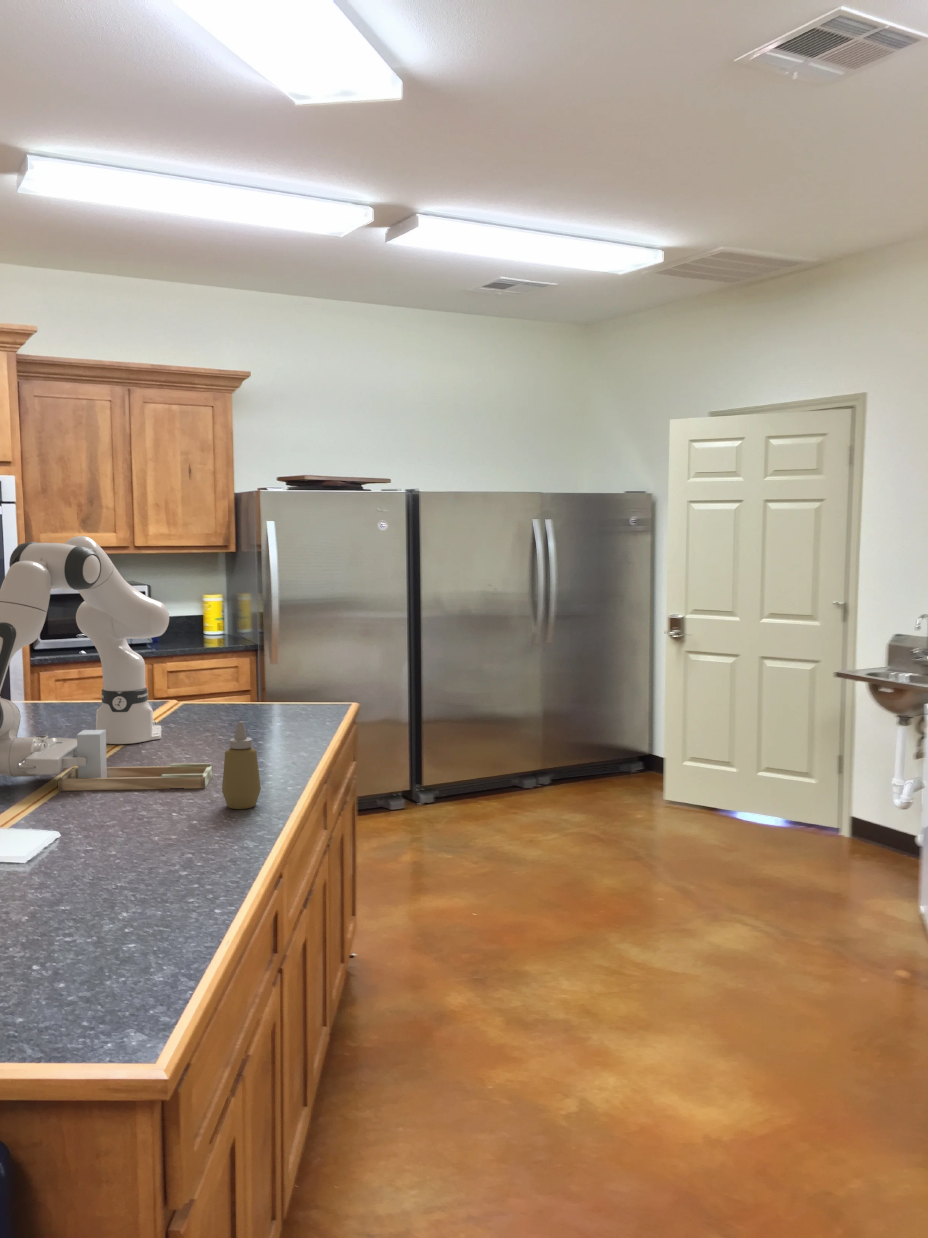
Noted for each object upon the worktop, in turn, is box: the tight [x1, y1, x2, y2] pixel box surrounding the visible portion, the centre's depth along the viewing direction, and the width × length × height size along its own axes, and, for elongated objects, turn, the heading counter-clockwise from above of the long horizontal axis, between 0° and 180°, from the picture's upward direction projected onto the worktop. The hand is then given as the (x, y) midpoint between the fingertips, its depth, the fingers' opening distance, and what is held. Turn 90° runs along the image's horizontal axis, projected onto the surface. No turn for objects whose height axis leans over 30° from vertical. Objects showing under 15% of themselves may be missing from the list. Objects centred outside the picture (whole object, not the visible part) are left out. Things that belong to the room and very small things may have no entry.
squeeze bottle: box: [221, 721, 262, 810], centre depth 209 cm, size 8×8×18 cm
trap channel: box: [57, 762, 214, 792], centre depth 228 cm, size 11×32×3 cm, turn 95°
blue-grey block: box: [76, 729, 108, 778], centre depth 226 cm, size 5×5×12 cm
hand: (92, 756), depth 226 cm, fingers open, 8 cm apart
